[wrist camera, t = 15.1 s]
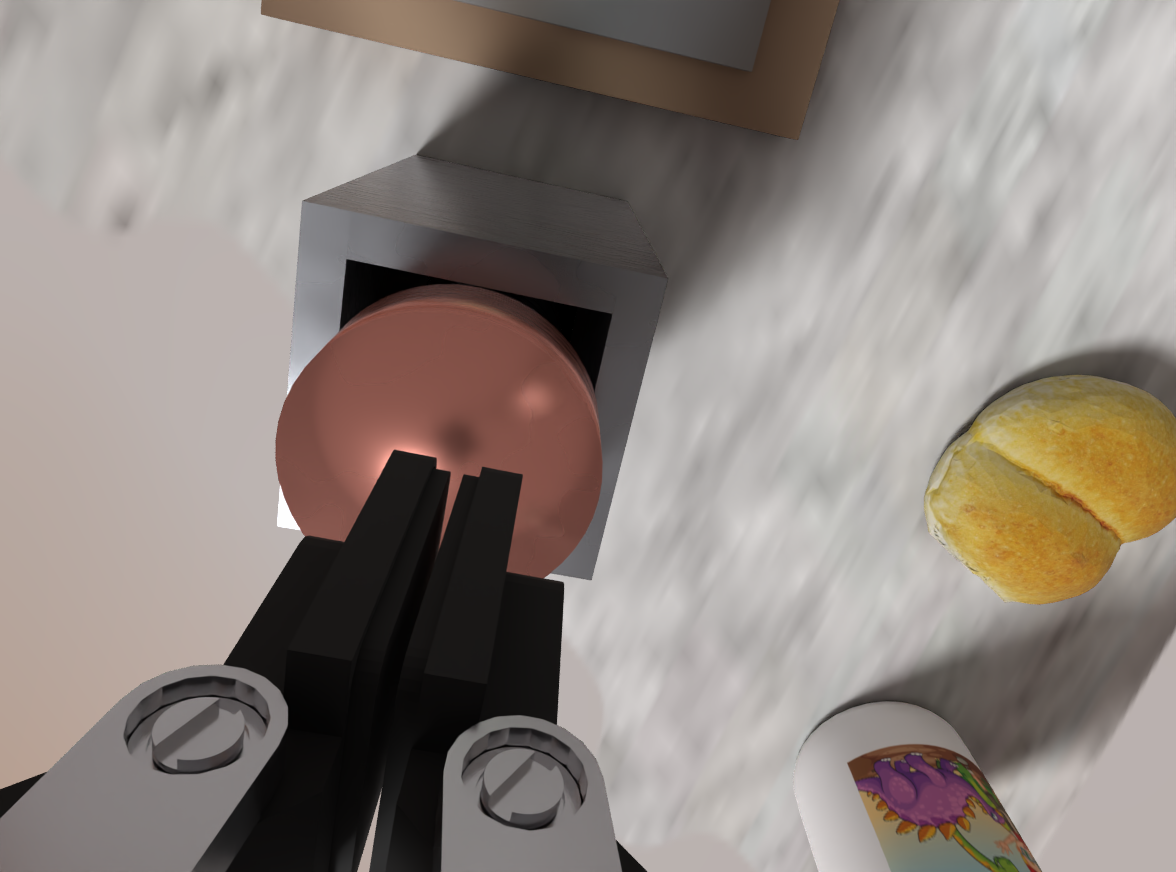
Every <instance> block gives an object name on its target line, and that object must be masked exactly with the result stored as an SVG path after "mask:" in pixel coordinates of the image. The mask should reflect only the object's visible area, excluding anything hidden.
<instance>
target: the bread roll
mask: <svg viewBox="0 0 1176 872" xmlns="http://www.w3.org/2000/svg"><path fill="white" fill-rule="evenodd" d="M924 511H925V516H926V521H927V526H928V531H929V533H930V534H931V535H932V536H933V537H934V538H935V539H936V540H937V541H938V542H939V543H940V544H941V545H942V546H943V547H944V548H945V549H946V550H947V551H948V552H949V553H950V554H951V555H952V556H953V557H954V558H955V559H956V560H958V561H960V562H962V565H963V566H964V567H965V568H966V569H968V570H969V571H971V572H972V573H973V574H976V575H977V576H979V577H980V578H981V579H982V580H983V581H984V582H985V583H986V584H987V585H988V586H989V587H990V588H991V589H992V590H994V592H995V593H996V594H997V595H998V596H999V597H1000V598H1001V599H1002V600H1003V601H1004V602H1005V603H1006V602H1012V601H1015V602H1022V603H1028V604H1047V603H1053V602H1058V601H1062V600H1065V599H1069V598H1072V597H1075V596H1078V595H1081V594H1083V593H1085V592H1087V591H1089V590H1090V589H1092V588H1093V587H1094V586H1096V585H1097V584H1098V583H1099V581H1100V580H1101V579H1102V578H1103V576H1104V575H1105V573H1106V572H1107V571H1108V570H1109V568H1110V567H1111V565H1112V563H1113V561H1114V558H1115V556H1116V554H1117V552H1118V551H1119V549H1120V546H1121V544H1123V543H1127V542H1132V541H1136V540H1140V539H1142V538H1146V537H1149V536H1151V535H1153V534H1155V533H1157V532H1158V531H1160V530H1161V529H1163V528H1164V527H1165V526H1167V525H1168V524H1169V523H1170V522H1171V521H1172V520H1173V519H1175V518H1176V418H1175V416H1174V415H1173V414H1172V413H1171V411H1170V410H1169V409H1168V408H1167V407H1166V406H1165V405H1164V404H1163V403H1162V402H1161V401H1159V400H1158V399H1157V398H1155V397H1154V396H1153V395H1151V394H1150V393H1148V392H1146V391H1144V390H1141V389H1139V388H1137V387H1134V386H1132V385H1129V384H1127V383H1123V382H1119V381H1116V380H1111V379H1106V378H1102V377H1098V376H1090V375H1065V376H1054V377H1048V378H1043V379H1040V380H1037V381H1034V382H1031V383H1026V384H1024V385H1022V386H1019V387H1017V388H1015V389H1013V390H1011V391H1010V392H1008V393H1007V394H1005V395H1003V396H1002V397H1000V398H999V399H997V400H996V401H994V402H993V403H991V404H990V405H989V406H988V407H987V408H985V409H984V410H983V411H982V412H981V413H980V414H979V415H978V417H977V418H976V420H975V421H974V423H973V424H972V426H971V428H970V429H969V430H968V431H967V432H966V433H965V434H963V435H962V436H961V437H959V438H958V439H957V440H955V441H954V442H953V443H952V444H951V445H950V446H949V447H948V448H947V449H946V451H945V452H944V454H943V455H942V457H941V459H940V460H939V462H938V463H937V465H936V467H935V469H934V471H933V473H932V475H931V477H930V480H929V484H928V487H927V489H926V492H925V496H924Z"/></svg>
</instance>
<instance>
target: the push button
mask: <svg viewBox="0 0 1176 872" xmlns="http://www.w3.org/2000/svg"><path fill="white" fill-rule="evenodd" d="M393 450H400V451H405V452H410V453H415V454H420V455H425V456H431V457H436V458H437V468H436V469H440V470H445V471H450V472H451V477H450V484H449V490H448V497H447V503H446V509H445V515H444V521H443V527H442V533H441V539H440V545H441V542H442V539H443V536H444V533H445V530H446V527H447V524H448V521H449V518H450V514H451V511H452V508H453V505H454V502H455V499H456V496H457V493H458V490H459V487H460V484H461V480H462V477H463V475H464V474H466V475H471V476H476V477H479V476H480V472H481V469H482V467H487V468H492V469H498V470H503V471H508V472H513V473H518V474H523V479H522V484H521V490H520V496H519V502H518V507H517V513H516V519H515V525H514V531H513V536H512V542H511V548H510V554H509V559H508V565H507V571H506V572H511V573H517V574H522V575H527V576H533V577H538V578H544V577H546V576H547V575H549V574H550V573H551V572H552V571H553V570H555V569H556V568H557V567H558V566H559V565H560V564H562V563H563V562H564V560H565V559H566V558H567V557H568V556H569V555H570V554H571V553H572V552H573V550H574V549H575V548H576V546H577V545H578V543H579V542H580V540H581V539H582V538H583V536H584V535H585V533H586V531H587V529H588V527H589V525H590V523H591V521H592V519H593V516H594V513H595V510H596V507H597V504H598V501H599V496H600V490H601V485H602V465H603V461H602V450H601V438H600V427H599V417H598V408H597V401H596V397H595V393H594V389H593V385H592V383H591V380H590V378H589V375H588V373H587V371H586V368H585V366H584V365H583V363H582V361H581V359H580V358H579V356H578V354H577V353H576V351H575V350H574V348H573V347H572V346H571V345H570V343H569V342H568V341H567V339H566V338H565V337H564V336H563V335H562V334H561V320H560V314H559V311H558V307H557V305H556V302H553V301H548V300H543V299H538V298H533V297H529V296H524V295H519V294H514V293H509V292H504V291H500V290H495V289H490V288H485V287H480V286H475V285H471V284H466V283H461V282H456V281H451V280H446V279H441V278H437V277H434V278H433V280H432V281H431V282H430V283H429V284H428V286H419V287H415V288H411V289H407V290H403V291H399V292H397V293H394V294H392V295H389V296H387V297H385V298H382V299H380V300H378V301H377V302H375V303H373V304H372V305H370V306H368V307H366V308H365V309H363V310H362V311H361V312H360V313H358V314H357V315H356V316H354V317H353V318H352V319H351V320H350V321H349V322H348V323H347V324H346V325H345V326H344V327H343V328H342V329H341V330H340V331H339V332H338V333H337V334H336V335H335V336H334V337H333V338H332V339H331V340H330V341H329V342H328V343H327V344H326V345H325V346H324V347H323V349H322V350H321V351H320V352H319V353H318V354H317V355H316V356H315V357H314V358H313V359H312V360H311V361H310V362H309V363H308V364H307V365H306V367H305V368H304V369H303V371H302V372H301V373H300V375H299V376H298V378H297V379H296V381H295V382H294V384H293V385H292V387H291V389H290V392H289V394H288V396H287V398H286V400H285V402H284V405H283V408H282V411H281V415H280V418H279V421H278V428H277V434H276V466H277V473H278V479H279V483H280V486H281V490H282V493H283V496H284V499H285V501H286V504H287V506H288V508H289V510H290V513H291V515H292V517H293V518H294V520H295V522H296V523H297V525H298V527H299V528H300V530H301V531H302V533H303V534H304V535H305V536H309V535H310V536H315V537H321V538H326V539H332V540H337V541H342V542H345V540H346V538H347V536H348V534H349V532H350V531H351V529H352V527H353V525H354V523H355V521H356V519H357V517H358V515H359V514H360V512H361V510H362V508H363V506H364V504H365V502H366V500H367V499H368V497H369V495H370V493H371V491H372V489H373V487H374V485H375V484H376V482H377V480H378V478H379V476H380V474H381V472H382V470H383V468H384V467H385V465H386V463H387V461H388V459H389V457H390V455H391V453H392V452H393ZM440 545H439V549H440ZM438 552H439V551H438Z"/></svg>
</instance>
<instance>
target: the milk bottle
mask: <svg viewBox="0 0 1176 872" xmlns="http://www.w3.org/2000/svg"><path fill="white" fill-rule="evenodd" d="M793 788H794V793H795V796H796V800H797V804H798V807H799V811H800V814H801V818H802V821H803V824H804V827H805V830H806V833H807V837H808V840H809V843H810V846H811V849H812V852H813V856H814V859H815V862H816V865H817V868H818V871H819V872H1042V871H1041V869H1040V867H1039V866H1038V864H1037V862H1036V861H1035V859H1034V857H1033V856H1032V854H1031V852H1030V851H1029V849H1028V847H1027V846H1026V844H1025V842H1024V841H1023V839H1022V837H1021V836H1020V834H1019V832H1018V831H1017V829H1016V827H1015V826H1014V824H1013V822H1012V821H1011V819H1010V818H1009V816H1008V814H1007V813H1006V811H1005V809H1004V808H1003V806H1002V804H1001V803H1000V801H999V799H998V798H997V796H996V794H995V793H994V791H993V789H992V788H991V786H990V784H989V783H988V781H987V780H986V778H985V776H984V775H983V773H982V771H981V770H980V768H979V766H978V765H977V763H976V761H975V760H974V758H973V757H972V755H971V753H970V752H969V750H968V748H967V747H966V745H965V744H964V742H963V741H962V739H961V738H960V736H959V735H958V733H957V732H956V731H955V729H954V728H953V727H952V726H951V725H950V724H949V723H948V722H946V721H945V720H944V719H942V718H941V717H939V716H938V715H936V714H934V713H933V712H931V711H930V710H927V709H924V708H922V707H919V706H917V705H913V704H908V703H904V702H889V701H882V702H875V703H867V704H863V705H860V706H856V707H852V708H850V709H848V710H845V711H843V712H841V713H839V714H836V715H835V716H833V717H832V718H830V719H829V720H827V721H825V722H824V723H822V724H821V725H820V726H819V727H818V728H817V729H816V730H815V731H814V732H813V733H811V735H810V736H809V738H808V739H807V740H806V741H805V743H804V744H803V745H802V748H801V750H800V752H799V754H798V756H797V760H796V765H795V768H794V774H793Z"/></svg>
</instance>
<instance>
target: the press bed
mask: <svg viewBox="0 0 1176 872" xmlns="http://www.w3.org/2000/svg"><path fill="white" fill-rule="evenodd" d="M839 1H840V0H262V4H261V14H262V15H266V16H270V17H274V18H278V19H282V20H287V21H291V22H295V23H299V24H304V25H308V26H312V27H316V28H321V29H325V30H329V31H333V32H338V33H342V34H346V35H350V36H355V37H359V38H363V39H368V40H372V41H376V42H380V43H385V44H389V45H393V46H397V47H402V48H406V49H410V50H414V51H419V52H423V53H427V54H432V55H436V56H440V57H444V58H449V59H453V60H457V61H461V62H466V63H470V64H474V65H478V66H483V67H487V68H491V69H496V70H500V71H504V72H508V73H513V74H517V75H521V76H525V77H530V78H534V79H538V80H542V81H547V82H551V83H555V84H560V85H564V86H568V87H572V88H577V89H581V90H585V91H589V92H594V93H598V94H602V95H606V96H611V97H615V98H619V99H624V100H628V101H632V102H636V103H641V104H645V105H649V106H653V107H658V108H662V109H666V110H670V111H675V112H679V113H683V114H688V115H692V116H696V117H700V118H705V119H709V120H713V121H717V122H722V123H726V124H730V125H734V126H739V127H743V128H747V129H752V130H756V131H760V132H764V133H769V134H773V135H777V136H781V137H786V138H790V139H795V140H798V139H799V135H800V132H801V129H802V125H803V122H804V118H805V115H806V112H807V108H808V105H809V102H810V98H811V95H812V92H813V88H814V85H815V81H816V78H817V75H818V71H819V68H820V65H821V61H822V58H823V54H824V51H825V48H826V44H827V41H828V38H829V34H830V31H831V28H832V24H833V21H834V17H835V14H836V11H837V7H838V4H839Z"/></svg>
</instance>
